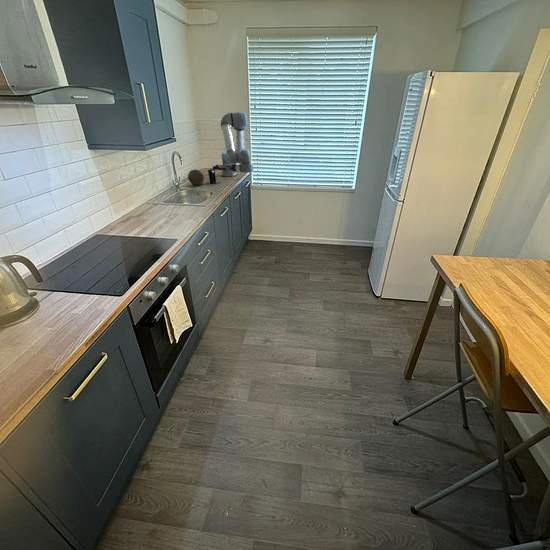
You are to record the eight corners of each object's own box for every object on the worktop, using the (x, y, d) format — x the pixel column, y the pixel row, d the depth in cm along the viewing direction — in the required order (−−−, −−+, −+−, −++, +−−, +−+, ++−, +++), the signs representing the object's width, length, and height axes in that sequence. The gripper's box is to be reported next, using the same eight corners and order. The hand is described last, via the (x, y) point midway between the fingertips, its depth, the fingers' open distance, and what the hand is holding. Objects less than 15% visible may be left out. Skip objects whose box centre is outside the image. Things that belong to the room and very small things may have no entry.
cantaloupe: (189, 184, 284) (186, 168, 276) (204, 183, 286) (201, 167, 278) (189, 188, 272) (186, 172, 264) (205, 187, 275) (202, 170, 267)
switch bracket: (220, 182, 287) (218, 168, 280) (216, 184, 280) (214, 170, 273) (210, 182, 290) (208, 168, 283) (206, 184, 283) (203, 170, 276)
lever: (222, 167, 275) (220, 164, 274) (220, 168, 272) (219, 164, 271) (212, 173, 281) (210, 169, 280) (210, 174, 279) (208, 170, 277)
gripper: (233, 174, 264) (210, 173, 270) (241, 169, 278) (219, 169, 285) (232, 165, 260) (209, 164, 266) (240, 161, 274) (218, 160, 281)
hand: (214, 167), depth 275 cm, fingers open, 5 cm apart
